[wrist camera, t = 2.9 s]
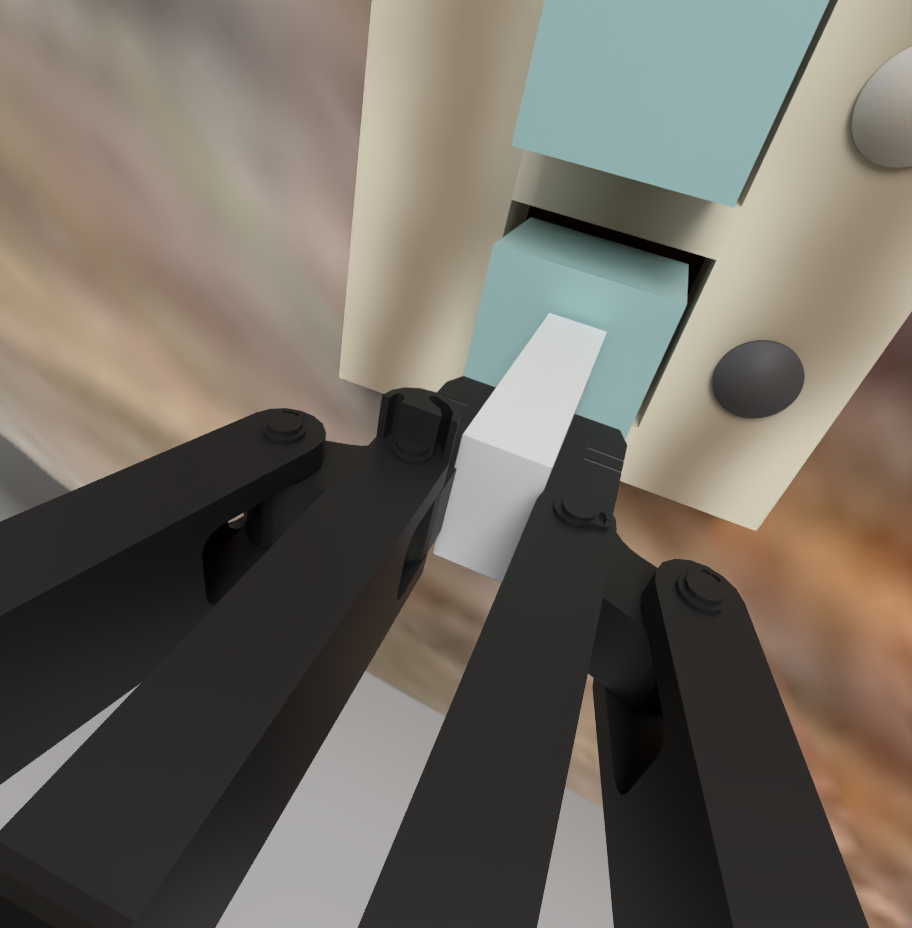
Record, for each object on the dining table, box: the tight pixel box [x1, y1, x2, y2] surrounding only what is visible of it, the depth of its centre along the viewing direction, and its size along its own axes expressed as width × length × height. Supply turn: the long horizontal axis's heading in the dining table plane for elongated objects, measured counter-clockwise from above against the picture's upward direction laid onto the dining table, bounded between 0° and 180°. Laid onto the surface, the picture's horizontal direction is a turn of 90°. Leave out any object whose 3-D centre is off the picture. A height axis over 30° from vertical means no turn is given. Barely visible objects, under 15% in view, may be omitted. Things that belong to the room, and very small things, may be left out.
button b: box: [511, 0, 830, 208], centre depth 12 cm, size 5×5×4 cm
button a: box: [463, 217, 689, 439], centre depth 17 cm, size 5×5×4 cm
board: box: [339, 0, 912, 531], centre depth 15 cm, size 16×24×3 cm, turn 167°
